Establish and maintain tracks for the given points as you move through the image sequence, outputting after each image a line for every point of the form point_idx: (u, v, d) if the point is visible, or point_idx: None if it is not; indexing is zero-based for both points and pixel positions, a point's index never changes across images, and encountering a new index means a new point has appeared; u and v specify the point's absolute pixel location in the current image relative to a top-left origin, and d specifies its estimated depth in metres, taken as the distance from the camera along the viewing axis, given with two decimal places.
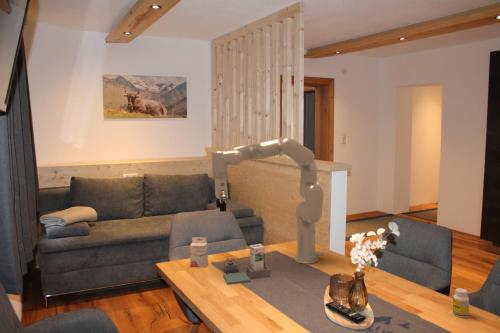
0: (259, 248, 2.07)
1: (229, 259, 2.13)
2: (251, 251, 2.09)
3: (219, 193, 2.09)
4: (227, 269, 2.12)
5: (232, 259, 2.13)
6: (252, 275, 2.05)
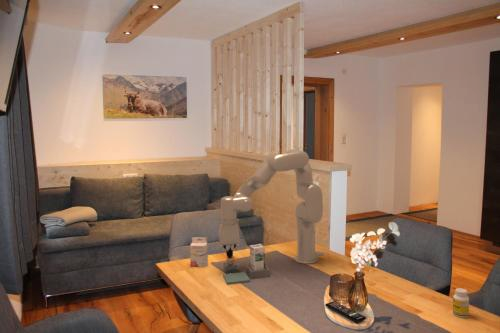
0: (259, 248, 2.07)
1: (229, 260, 2.13)
2: (251, 251, 2.09)
3: (239, 237, 2.13)
4: (227, 269, 2.12)
5: (232, 260, 2.13)
6: (252, 275, 2.05)
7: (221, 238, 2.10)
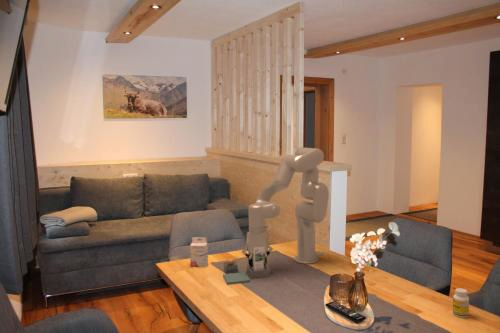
0: (259, 248, 2.07)
1: (229, 261, 2.13)
2: None
3: (267, 245, 2.09)
4: (227, 269, 2.12)
5: (232, 261, 2.13)
6: (252, 275, 2.05)
7: (249, 246, 2.06)
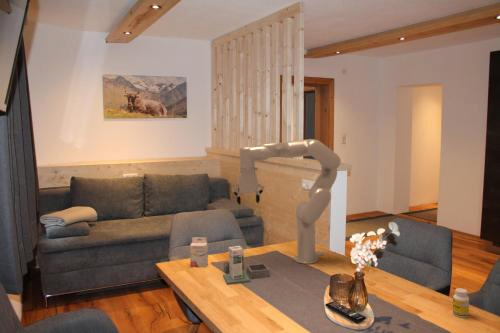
0: (237, 250, 2.01)
1: None
2: (230, 253, 2.03)
3: (257, 186, 2.21)
4: (227, 269, 2.12)
5: None
6: (252, 275, 2.05)
7: (240, 186, 2.18)
